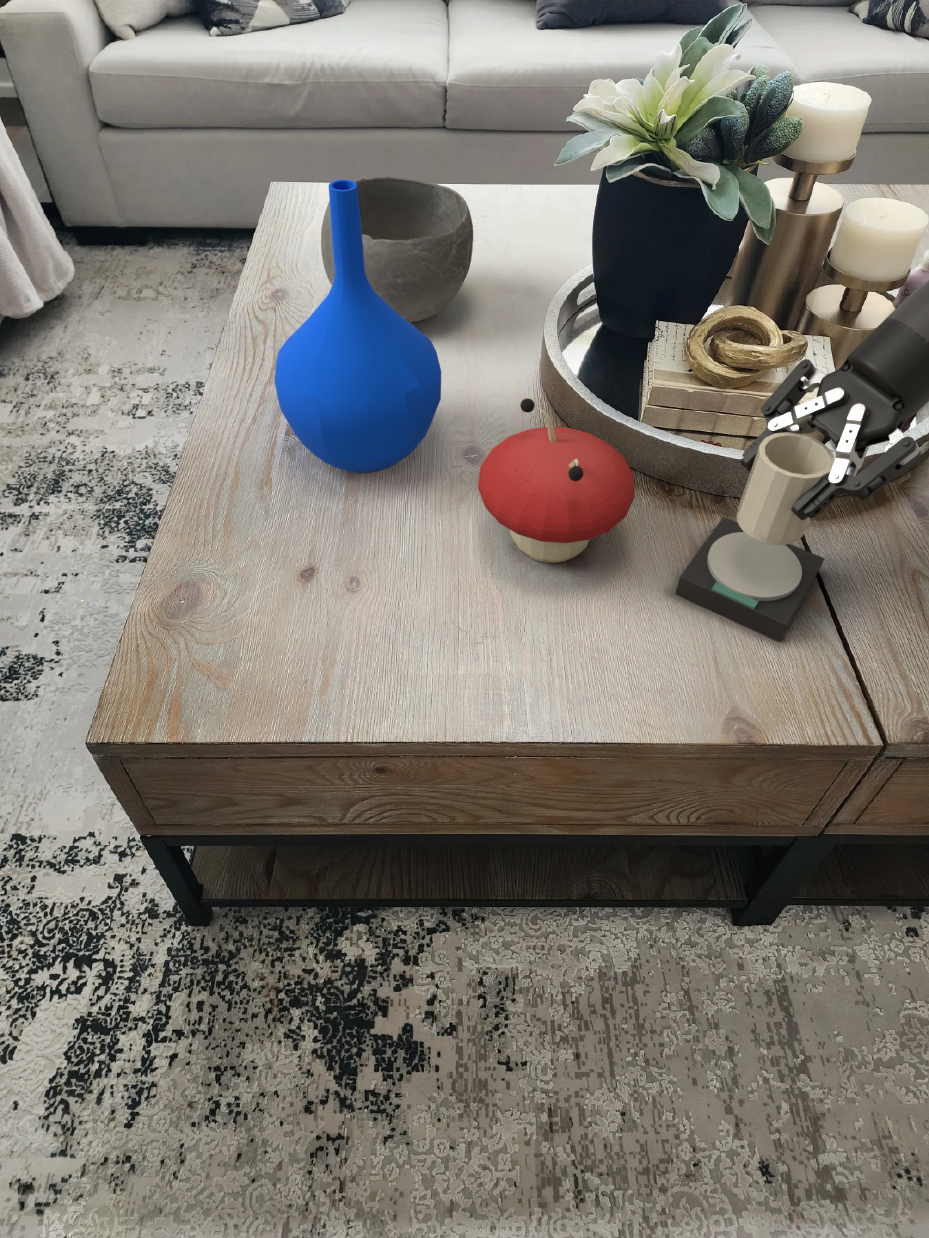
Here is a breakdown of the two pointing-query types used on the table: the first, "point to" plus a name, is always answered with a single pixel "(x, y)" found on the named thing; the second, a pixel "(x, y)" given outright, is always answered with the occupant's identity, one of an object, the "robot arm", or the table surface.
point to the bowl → (410, 243)
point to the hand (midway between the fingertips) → (770, 491)
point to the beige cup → (781, 486)
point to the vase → (357, 364)
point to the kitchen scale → (749, 579)
